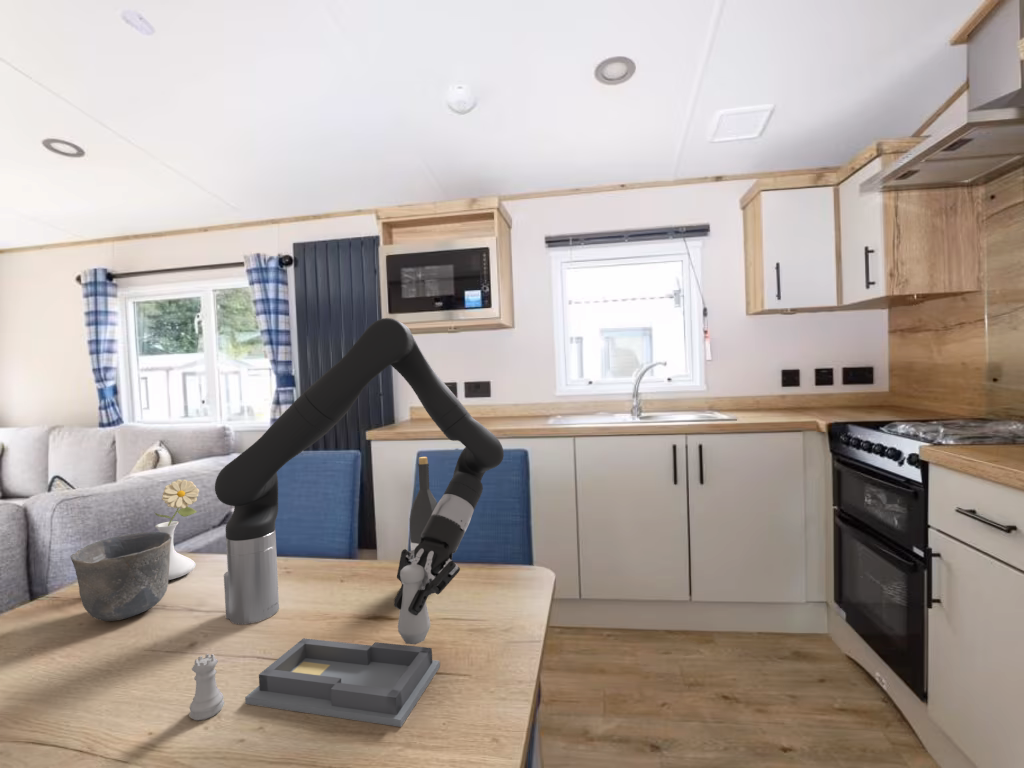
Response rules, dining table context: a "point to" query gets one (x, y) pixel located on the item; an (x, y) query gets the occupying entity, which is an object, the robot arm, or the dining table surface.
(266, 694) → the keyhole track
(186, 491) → the flower in vase
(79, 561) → the grey stone bowl
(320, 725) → the dining table surface
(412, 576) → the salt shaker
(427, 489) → the wine bottle
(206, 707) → the rook chess piece
